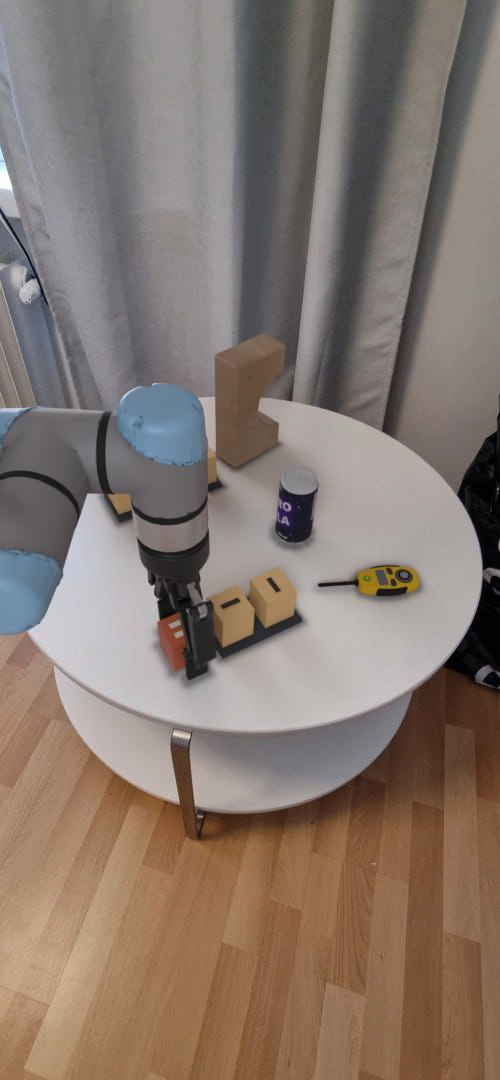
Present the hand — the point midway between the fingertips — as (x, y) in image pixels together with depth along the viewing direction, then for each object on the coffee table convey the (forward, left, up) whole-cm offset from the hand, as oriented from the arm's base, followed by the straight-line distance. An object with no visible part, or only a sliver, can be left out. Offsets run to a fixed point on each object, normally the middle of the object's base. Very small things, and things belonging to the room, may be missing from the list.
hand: (183, 650), depth 77 cm
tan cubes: (+10, +30, 0) cm, 32 cm away
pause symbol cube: (0, 0, 0) cm, 0 cm away
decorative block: (+28, +34, 0) cm, 44 cm away
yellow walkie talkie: (+28, -2, 0) cm, 29 cm away
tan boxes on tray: (+10, 0, 0) cm, 10 cm away
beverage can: (+24, +12, 0) cm, 27 cm away
